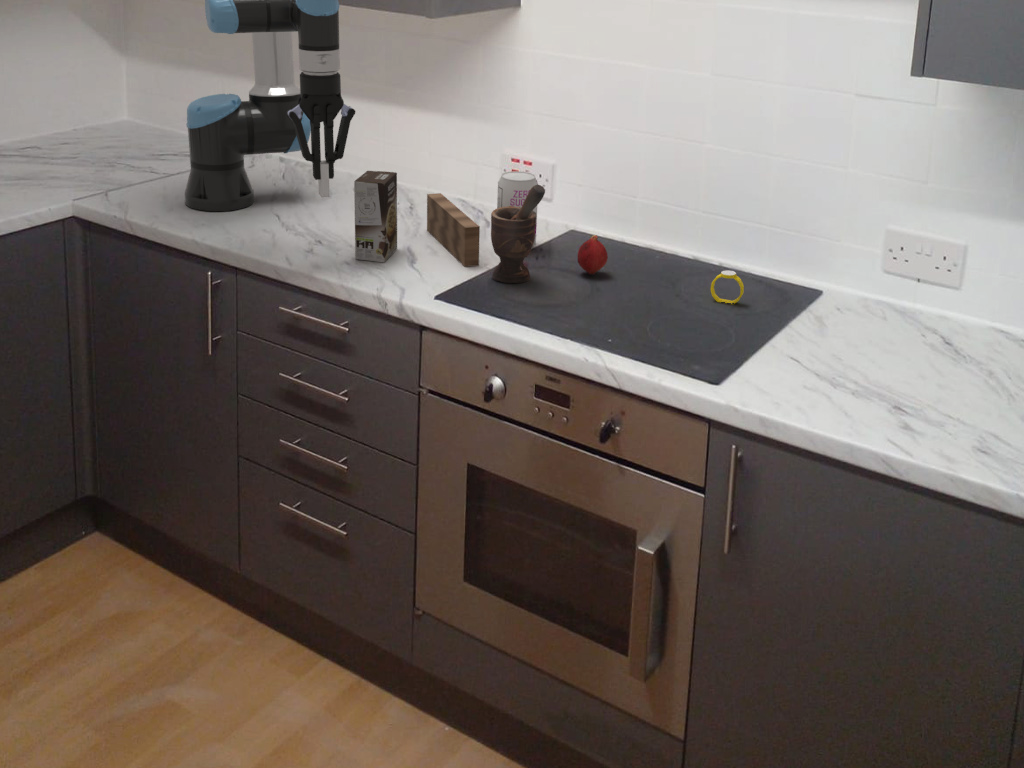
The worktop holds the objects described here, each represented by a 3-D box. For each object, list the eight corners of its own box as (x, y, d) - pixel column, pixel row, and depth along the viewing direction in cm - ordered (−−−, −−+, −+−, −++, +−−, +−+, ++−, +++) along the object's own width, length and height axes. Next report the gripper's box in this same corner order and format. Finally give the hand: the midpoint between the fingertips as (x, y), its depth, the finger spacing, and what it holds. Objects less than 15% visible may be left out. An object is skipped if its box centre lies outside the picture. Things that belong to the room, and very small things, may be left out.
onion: (584, 280, 237) (587, 241, 233) (571, 271, 241) (573, 232, 238) (611, 277, 239) (613, 238, 236) (597, 268, 244) (600, 229, 240)
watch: (709, 303, 229) (710, 273, 226) (712, 298, 231) (713, 268, 229) (740, 306, 227) (742, 276, 224) (743, 301, 229) (745, 271, 227)
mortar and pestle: (555, 279, 237) (560, 178, 228) (534, 292, 230) (539, 189, 222) (502, 268, 242) (506, 169, 233) (481, 280, 235) (483, 179, 226)
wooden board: (427, 230, 262) (427, 194, 258) (440, 229, 263) (440, 193, 259) (464, 266, 242) (465, 227, 238) (478, 265, 243) (479, 226, 239)
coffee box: (385, 263, 242) (384, 183, 235) (354, 259, 243) (352, 180, 236) (398, 248, 250) (398, 171, 243) (368, 245, 251) (367, 168, 244)
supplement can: (515, 237, 259) (518, 168, 253) (543, 247, 254) (546, 176, 248) (487, 245, 254) (489, 174, 248) (515, 255, 249) (518, 183, 243)
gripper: (289, 76, 222) (295, 202, 232) (359, 74, 227) (361, 197, 236) (280, 69, 228) (286, 192, 238) (348, 67, 233) (351, 188, 243)
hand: (324, 195), depth 237 cm, fingers closed
